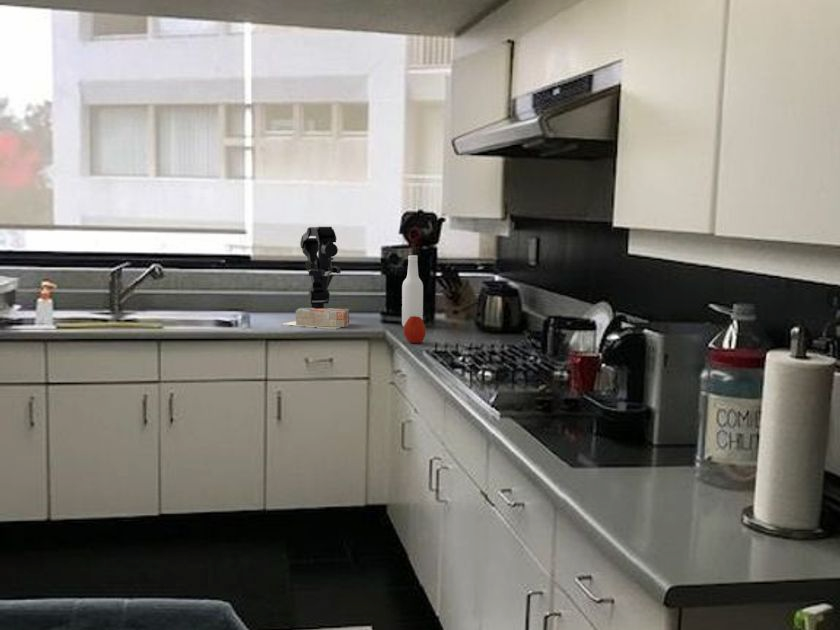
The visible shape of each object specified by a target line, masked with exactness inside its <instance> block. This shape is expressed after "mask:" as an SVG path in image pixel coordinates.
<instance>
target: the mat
mask: <svg viewBox="0 0 840 630" xmlns="http://www.w3.org/2000/svg"><path fill="white" fill-rule="evenodd" d="M282 324H283V325H282V326H286V325H294V326H293V327H299V326H305V327H304V328H313V327H317V328H316V329H326V328H327V330H328V329H329V330H338V329H342V328H341V327H330V326H315V325H296V320H294V321H288V322H284V323H282ZM348 326H349V324H347V325H346V326H345V327H348ZM337 328H338V329H337Z"/></svg>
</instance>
